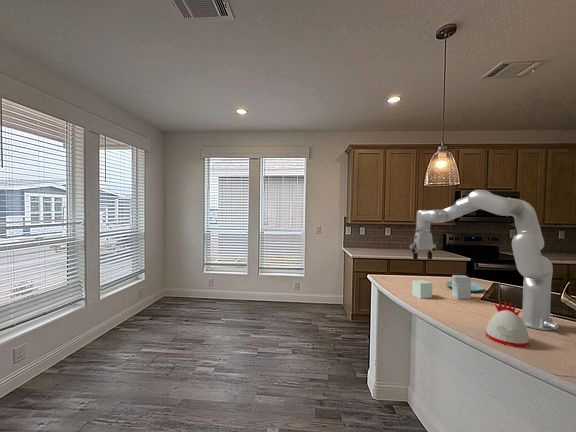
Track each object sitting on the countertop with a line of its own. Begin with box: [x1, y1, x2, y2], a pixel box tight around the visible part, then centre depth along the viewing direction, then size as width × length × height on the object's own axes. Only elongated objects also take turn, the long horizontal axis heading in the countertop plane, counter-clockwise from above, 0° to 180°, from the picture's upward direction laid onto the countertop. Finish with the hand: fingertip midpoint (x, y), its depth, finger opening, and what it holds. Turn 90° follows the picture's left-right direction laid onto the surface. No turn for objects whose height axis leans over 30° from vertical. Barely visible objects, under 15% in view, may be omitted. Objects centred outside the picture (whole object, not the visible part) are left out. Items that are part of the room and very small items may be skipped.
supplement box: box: [451, 274, 472, 300], centre depth 174 cm, size 7×7×13 cm
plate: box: [444, 280, 485, 293], centre depth 194 cm, size 22×22×3 cm
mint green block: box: [411, 279, 433, 299], centre depth 175 cm, size 8×8×9 cm
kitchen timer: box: [485, 301, 530, 348], centre depth 117 cm, size 14×14×15 cm
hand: (422, 259), depth 175 cm, fingers open, 9 cm apart
